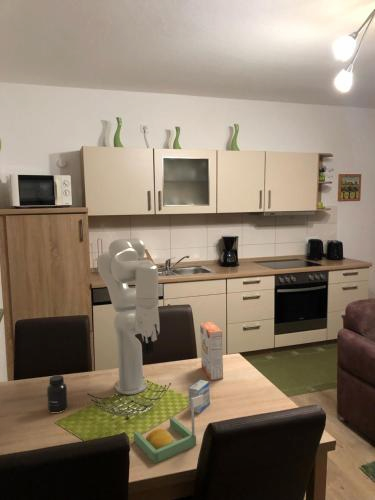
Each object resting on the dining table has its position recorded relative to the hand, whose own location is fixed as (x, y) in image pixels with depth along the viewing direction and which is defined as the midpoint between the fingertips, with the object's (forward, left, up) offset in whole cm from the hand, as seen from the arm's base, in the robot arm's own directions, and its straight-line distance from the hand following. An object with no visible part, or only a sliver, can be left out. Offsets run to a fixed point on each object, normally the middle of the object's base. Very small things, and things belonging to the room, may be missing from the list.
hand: (148, 352), depth 133 cm
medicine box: (+6, +17, -23) cm, 29 cm away
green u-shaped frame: (+17, -3, -23) cm, 28 cm away
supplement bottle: (-24, -25, -23) cm, 42 cm away
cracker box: (-14, +38, -23) cm, 46 cm away
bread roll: (+17, -6, -23) cm, 29 cm away
